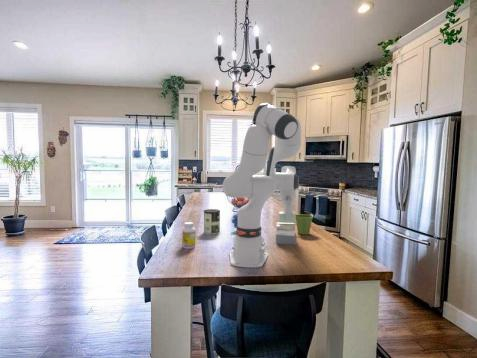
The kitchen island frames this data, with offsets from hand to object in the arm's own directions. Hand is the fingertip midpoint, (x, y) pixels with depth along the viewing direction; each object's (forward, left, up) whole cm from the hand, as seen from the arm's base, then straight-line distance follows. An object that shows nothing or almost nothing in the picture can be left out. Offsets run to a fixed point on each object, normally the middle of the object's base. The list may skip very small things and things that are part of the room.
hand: (287, 218), depth 152 cm
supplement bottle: (-18, +52, -13) cm, 57 cm away
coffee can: (+12, +46, -13) cm, 49 cm away
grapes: (+18, +28, -13) cm, 36 cm away
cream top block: (0, +1, -8) cm, 8 cm away
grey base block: (0, +1, -13) cm, 13 cm away
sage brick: (0, 0, -2) cm, 2 cm away
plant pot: (+19, -12, -13) cm, 26 cm away
